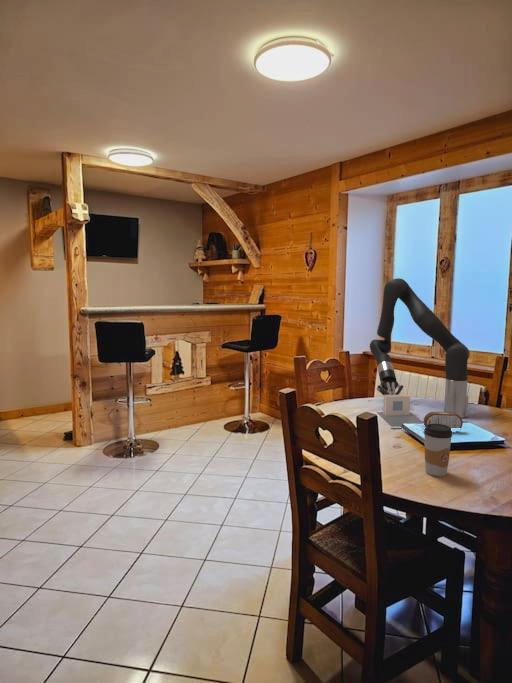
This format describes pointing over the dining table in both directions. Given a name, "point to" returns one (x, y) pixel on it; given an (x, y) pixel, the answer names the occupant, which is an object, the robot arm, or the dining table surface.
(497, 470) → the dining table surface
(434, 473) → the coffee cup
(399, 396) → the tile
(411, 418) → the slate board
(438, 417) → the tin
